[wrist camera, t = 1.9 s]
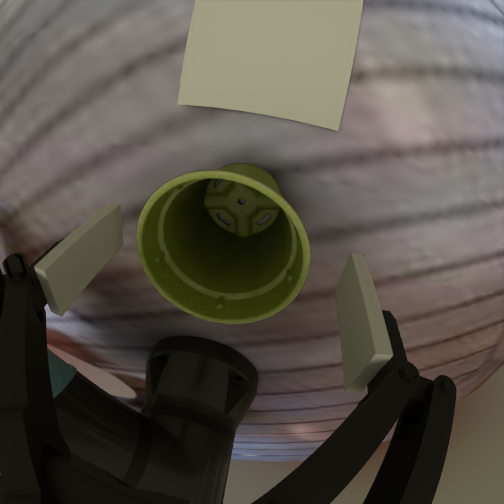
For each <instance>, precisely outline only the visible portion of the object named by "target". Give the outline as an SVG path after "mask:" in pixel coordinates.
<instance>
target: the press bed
mask: <svg viewBox="0 0 504 504" xmlns="http://www.w3.org/2000/svg"><path fill="white" fill-rule="evenodd" d="M362 6H363V0H196V1H195V6H194V10H193V15H192V19H191V24H190V29H189V34H188V39H187V45H186V50H185V56H184V62H183V69H182V75H181V82H180V89H179V97H178V104H181V105H195V106H206V107H215V108H224V109H232V110H239V111H246V112H252V113H258V114H264V115H270V116H275V117H280V118H285V119H290V120H295V121H299V122H304V123H308V124H312V125H316V126H320V127H324V128H328V129H332V130H335V131H338V129H339V125H340V121H341V116H342V112H343V108H344V103H345V99H346V94H347V89H348V84H349V80H350V75H351V70H352V65H353V59H354V54H355V49H356V43H357V37H358V32H359V26H360V19H361V13H362Z"/></svg>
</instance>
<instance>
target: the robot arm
mask: <svg viewBox="0 0 504 504" xmlns="http://www.w3.org/2000/svg"><path fill="white" fill-rule="evenodd" d="M122 246H123V235H122V224H121V212H120V204H114V203H109V204H107V205H106V206H105V207H103V208H102V209H101V210H99V211H98V212H97V213H95V214H94V215H93V216H92V217H90V218H89V219H88V220H87V221H85V222H84V223H83V224H82V225H80V226H79V227H78V228H77V229H76V230H74V231H73V232H72V233H71V234H70V235H68V236H67V237H66V238H65V239H62V240H60V241H58V242H56V243H55V244H54V245H53V246H51V247H50V249H48V250H47V251H46V252H45V254H43V255H41V256H40V257H39V258H38V259H37V260H36V261H35V262H34V263H33V264H32V265H31V266H30V267H29V268H28V265H27V262H26V259H25V256H24V254H23V253H14V254H11V255H10V256H8V257H7V258H6V259H5V260H4V261H3V263H2V264H3V267H4V270H5V272H6V275H4V274H2V272H1V269H0V504H223V498H224V493H225V487H226V481H227V477H228V471H229V464H230V460H231V454H232V449H233V442H234V437H235V433H236V429H237V427H238V426H239V424H240V422H241V421H242V419H243V417H244V416H245V414H246V412H247V411H248V409H249V407H250V405H251V404H252V402H253V400H254V398H255V396H256V393H257V386H258V374H257V372H256V370H255V368H254V367H253V365H252V364H251V363H250V362H249V361H248V360H247V359H245V358H244V357H243V356H241V355H240V354H238V353H237V352H235V351H233V350H231V349H229V348H227V347H225V346H223V345H220V344H218V343H215V342H212V341H208V340H204V339H200V338H194V337H171V338H167V339H164V340H161V341H159V342H158V343H157V344H156V345H155V346H154V347H153V349H152V351H151V354H150V356H149V358H148V361H147V365H146V382H145V401H144V405H143V408H142V410H141V413H138V412H136V411H135V410H133V409H132V408H130V407H128V406H127V405H125V404H124V403H122V402H121V401H119V400H117V399H116V398H114V397H113V396H111V395H110V394H108V393H107V392H105V391H104V390H103V389H101V388H100V387H98V386H97V385H96V384H94V383H93V382H91V381H90V380H89V379H87V378H86V377H85V376H83V375H82V374H81V373H79V372H78V371H77V370H76V368H75V367H74V366H73V365H71V364H68V363H66V362H65V361H64V360H62V359H61V358H60V357H58V356H57V355H55V354H54V353H53V352H52V351H50V350H49V349H48V348H47V336H46V312H45V309H44V307H45V305H46V304H47V303H48V305H49V308H50V310H51V312H53V313H55V314H57V315H59V316H61V317H62V316H63V315H64V313H65V312H66V311H67V309H68V308H69V307H70V306H71V304H72V303H73V302H74V301H75V299H76V298H77V297H78V296H79V294H80V293H81V292H82V291H83V290H84V288H85V287H86V286H87V285H88V284H89V283H90V281H91V280H92V279H93V278H94V277H95V276H96V274H97V273H98V272H99V271H100V270H101V269H102V268H103V266H104V265H105V264H106V263H107V262H108V261H109V260H110V259H111V258H112V256H113V255H114V254H115V253H116V252H117V251H118V250H119V249H120V248H121V247H122ZM335 297H336V304H337V312H338V320H339V329H340V338H341V348H342V359H343V371H344V385H345V391H347V392H362V391H363V390H364V389H365V387H366V386H367V388H368V394H367V395H366V396H365V397H364V398H363V399H362V400H361V401H360V402H359V403H358V404H357V405H358V406H357V407H356V408H355V409H354V410H353V412H352V413H351V414H350V415H349V416H348V417H347V418H346V420H345V421H344V422H343V423H342V424H341V425H340V426H339V427H338V428H337V429H336V430H335V431H334V433H333V434H332V435H331V436H330V437H329V438H328V439H327V440H326V441H325V442H324V443H323V444H322V445H321V446H320V447H319V448H318V449H317V450H316V451H315V452H314V453H313V454H311V455H310V456H309V457H308V458H307V459H306V460H305V461H304V462H303V463H302V464H301V465H300V466H298V467H297V468H296V469H295V470H294V471H293V472H292V473H290V474H289V475H288V476H287V477H286V478H284V479H283V480H282V481H281V482H280V483H278V484H277V485H276V486H275V487H273V488H272V489H271V490H269V491H268V492H267V493H266V494H264V495H263V496H262V497H260V498H259V499H258V500H256V501H255V502H253V503H252V504H330V503H331V502H332V501H333V500H334V499H335V498H336V497H337V496H338V495H339V494H340V492H341V491H342V490H343V489H344V488H345V487H346V486H347V485H348V484H349V482H351V480H352V479H353V478H354V477H355V475H357V473H358V472H359V471H360V470H361V469H362V467H363V466H364V465H365V464H366V462H367V461H368V460H369V459H370V457H371V456H372V455H373V453H374V452H375V451H376V449H377V448H378V446H379V445H380V444H381V442H382V441H383V440H384V438H385V437H386V435H387V434H388V432H389V431H390V430H391V428H392V427H393V425H394V423H395V422H396V420H397V419H398V418H399V419H398V422H397V425H396V428H395V431H394V434H393V437H392V439H391V442H390V445H389V447H388V450H387V452H386V455H385V458H384V460H383V463H382V465H381V467H380V469H379V471H378V474H377V476H376V478H375V481H374V482H373V485H372V487H371V489H370V491H369V493H368V495H367V497H366V499H365V500H364V503H363V504H432V501H433V498H434V496H435V493H436V489H437V486H438V483H439V480H440V477H441V473H442V469H443V466H444V462H445V458H446V454H447V449H448V444H449V440H450V435H451V429H452V423H453V416H454V409H455V402H456V386H455V384H454V382H453V381H452V380H451V379H450V378H449V377H447V376H445V375H440V376H438V377H437V378H436V379H435V380H434V381H432V380H429V379H427V378H424V377H421V376H420V375H419V372H418V370H417V368H416V367H415V366H414V365H413V364H412V363H410V362H408V361H407V357H406V354H405V350H404V346H403V343H402V339H401V337H400V332H399V330H398V326H397V322H396V319H395V318H394V317H393V315H392V314H391V312H390V311H385V310H381V307H380V303H379V300H378V297H377V293H376V290H375V287H374V284H373V281H372V278H371V274H370V271H369V268H368V266H367V263H366V260H365V257H364V255H360V254H356V253H352V252H351V254H350V257H349V259H348V262H347V264H346V266H345V269H344V271H343V274H342V276H341V278H340V281H339V283H338V285H337V287H336V290H335Z"/></svg>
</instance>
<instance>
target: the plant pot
mask: <svg viewBox="0 0 504 504" xmlns="http://www.w3.org/2000/svg"><path fill="white" fill-rule="evenodd" d="M217 179H223V180H222V181H221V182H220V183H219V185H218V186H217V187H216V188H214V187H215V186H214V184H215V182H216V180H217ZM239 199H243V200H244V201H245V203H244V204H243V205H241V204H239V202H238V200H239ZM267 213H269V214H270V218H269V219H268V220H267V221H266V222H265V223H263V224H261V225H258V224H257V222H259V221H260V220H262V219H263V218H264V217H265V216H266V214H267ZM217 214H221V216H223V217H224V218H225V219H226V220H227V221H228V222H230V223H231V225H227V224H225V223H224V222H223V221H221V220H220V219H219V218H218V216H217ZM136 244H137V251H138V255H139V259H140V262H141V265H142V267H143V269H144V271H145V273H146V275H147V276H148V277H149V279H150V281H151V282H152V284H153V285H154V286H155V288H156V289H157V290H158V291H159V292H160V293H161V294H162V295H163V296H164V297H165V298H166V299H167V300H168V301H170V302H171V303H173V304H174V305H175V306H176V307H178V308H180V309H181V310H183V311H185V312H187V313H189V314H191V315H193V316H196V317H198V318H200V319H204V320H207V321H212V322H217V323H222V324H246V323H251V322H256V321H260V320H263V319H266V318H268V317H271V316H272V315H274V314H276V313H278V312H279V311H281V310H282V309H284V308H285V307H286V306H288V305H289V304H290V303H291V302H292V301H293V300H294V299H295V298H296V296H297V295H298V294H299V292H300V290H301V289H302V287H303V285H304V283H305V281H306V278H307V275H308V272H309V266H310V245H309V240H308V236H307V233H306V230H305V227H304V225H303V223H302V221H301V219H300V217H299V216H298V214H297V213H296V211H295V210H294V209H293V207H292V206H291V205H290V204H289V203H288V202H287V201H286V200H285V199H284V198H283V197H282V195H281V191H280V189H279V186H278V184H277V183H276V181H275V180H274V178H273V177H272V176H271V175H270V174H269V173H268V172H267V171H265V170H264V169H262V168H260V167H258V166H256V165H253V164H248V163H234V164H229V165H226V166H224V167H222V168H220V169H218V170H201V171H195V172H191V173H187V174H184V175H181V176H179V177H176V178H175V179H173V180H171V181H169V182H167V183H166V184H165V185H163V186H162V187H161V188H159V189H158V190H157V191H156V192H155V193H154V194H153V195H152V196H151V197H150V199H149V200H148V201H147V203H146V205H145V206H144V208H143V210H142V212H141V215H140V217H139V221H138V225H137V236H136Z"/></svg>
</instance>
